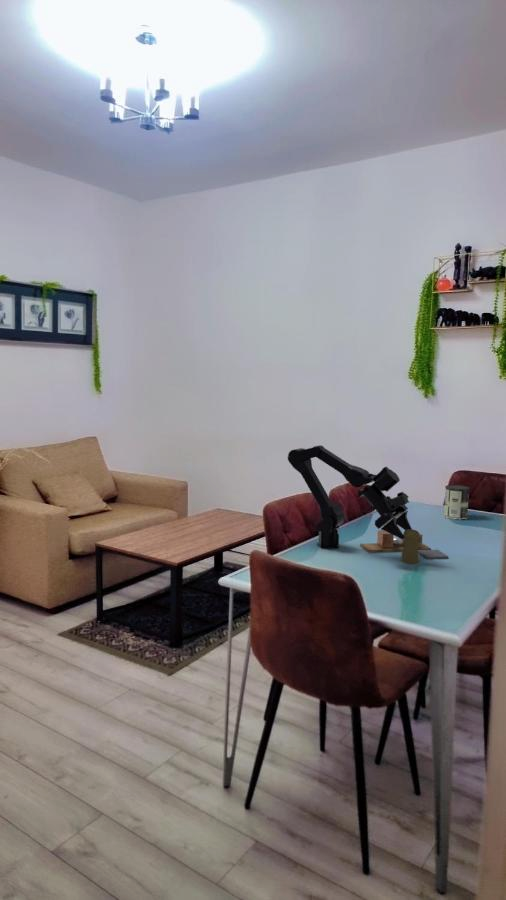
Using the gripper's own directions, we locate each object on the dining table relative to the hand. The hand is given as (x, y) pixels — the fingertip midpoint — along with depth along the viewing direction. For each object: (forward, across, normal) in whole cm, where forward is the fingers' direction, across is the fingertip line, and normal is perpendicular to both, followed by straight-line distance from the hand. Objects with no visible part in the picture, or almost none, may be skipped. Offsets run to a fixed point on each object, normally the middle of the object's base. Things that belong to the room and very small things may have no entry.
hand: (407, 535), depth 200 cm
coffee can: (+5, +78, +8) cm, 79 cm away
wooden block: (-1, +11, +11) cm, 16 cm away
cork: (+7, 0, +6) cm, 9 cm away
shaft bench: (0, +12, +12) cm, 17 cm away
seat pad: (+10, +12, +2) cm, 16 cm away
